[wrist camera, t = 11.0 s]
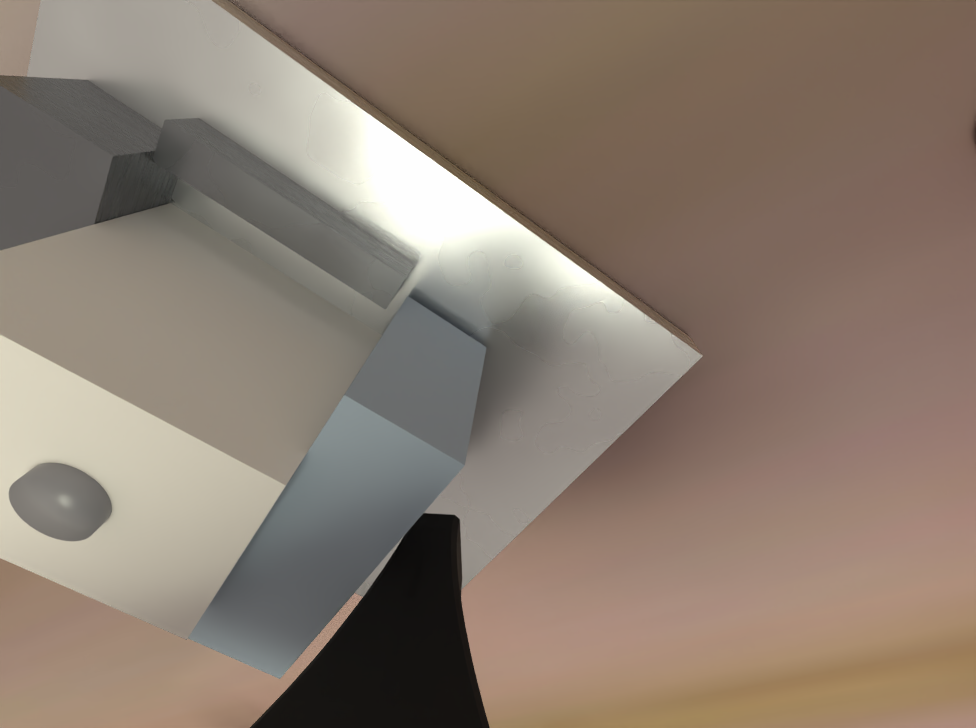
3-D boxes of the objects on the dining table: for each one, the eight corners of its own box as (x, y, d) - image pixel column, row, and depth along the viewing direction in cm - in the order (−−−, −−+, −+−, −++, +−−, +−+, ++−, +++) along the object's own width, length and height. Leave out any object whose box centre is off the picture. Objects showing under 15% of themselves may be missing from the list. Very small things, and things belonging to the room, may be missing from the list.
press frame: (689, 336, 12) (735, 405, 9) (428, 599, 17) (409, 691, 14) (107, -88, 9) (-71, -168, 6) (3, 381, 14) (-121, 447, 11)
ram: (486, 347, 11) (464, 465, 7) (344, 531, 14) (279, 679, 10) (407, 295, 10) (344, 395, 7) (278, 497, 13) (187, 638, 10)
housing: (382, 335, 11) (276, 500, 7) (302, 458, 13) (175, 657, 8) (170, 203, 10) (-134, 288, 6) (116, 357, 12) (-145, 518, 7)
